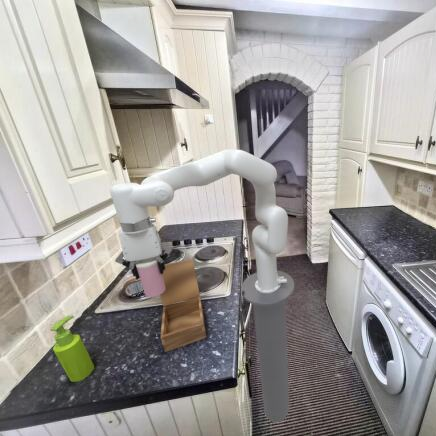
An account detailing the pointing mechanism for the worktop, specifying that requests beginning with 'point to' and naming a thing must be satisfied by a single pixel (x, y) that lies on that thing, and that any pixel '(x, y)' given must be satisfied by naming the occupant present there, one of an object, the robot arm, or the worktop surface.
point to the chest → (182, 324)
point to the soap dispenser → (71, 352)
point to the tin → (133, 287)
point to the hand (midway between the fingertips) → (150, 274)
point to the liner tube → (150, 277)
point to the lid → (179, 282)
